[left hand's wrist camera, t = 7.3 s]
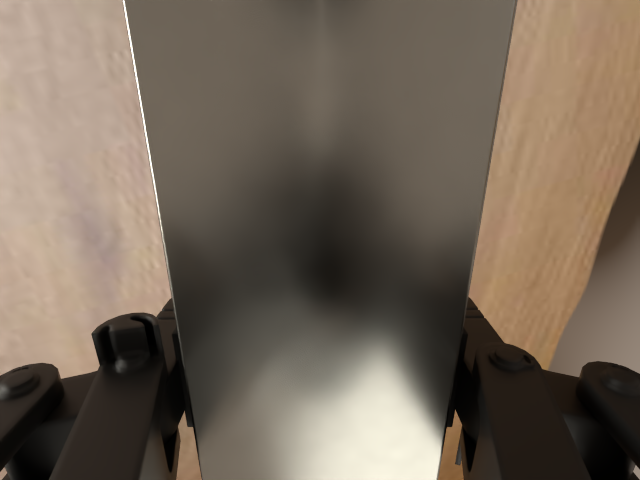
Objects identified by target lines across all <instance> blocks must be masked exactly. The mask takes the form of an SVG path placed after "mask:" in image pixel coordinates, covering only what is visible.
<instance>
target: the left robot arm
mask: <svg viewBox="0 0 640 480" xmlns="http://www.w3.org/2000/svg"><path fill="white" fill-rule="evenodd" d="M92 338H93V341H94V345H95V349H96V353H97V356H98V360H99V364H100V367H99V369H98V371H95V372H92V373H87V374H83V375H78V376H73V377H68V378H64V379H61V378H60V375H59V371H58V369H57V368H56V367H55V366H54V365H52V364H46V363H37V364H29V365H25V366H22V367H18V368H15V369H13V370H11V371H9V372H7V373H5V374H3V375H1V376H0V471H1V470H2V469H3V468H4V467H5V468H6V471H7V474H6V476H5V477H4V478H3V479H2V480H176V476H177V467H178V459H179V450H180V435H179V429H178V424H179V422H180V420H181V418H182V415H183V413H184V411H185V414H186V420H187V426H188V427H193V423H192V417H191V411H190V405H189V399H188V392H187V386H186V380H185V374H184V368H183V362H182V356H181V350H180V344H179V338H178V332H177V326H176V320H175V314H174V308H173V302H172V298H171V299H170V300H169V301H168V302H167V304H166V305H165V306H164V308H163V309H162V311H161V312H160V313H159V314H158V315H157V317H155V316H154V315H152V314H148V313H130V314H125V315H121V316H118V317H115V318H113V319H110V320H108V321H106V322H104V323H103V324H101V325H100V326H98V327H97V328H96V329H95V330H94V332H93V333H92ZM455 409H456V412H457V414H458V416H459V419H460V421H461V423H462V429H461V434H460V440H459V445H458V451H457V456H456V463H455V464H457V465H460V464H461V459H462V467H463V476H464V480H639V479H638V477H637V476H636V475H635V474H634V472H633V470H634V468H635V465H637V467H638V468H639V469H640V374H639V373H637V372H635V371H633V370H631V369H629V368H627V367H624V366H621V365H618V364H614V363H608V362H600V361H596V362H589V363H587V364H586V365H584V366H583V367H582V370H581V373H580V377H574V376H570V375H565V374H560V373H555V372H551V371H547V370H543V369H542V368H541V366H540V364H539V363H538V362H537V360H536V359H535V358H534V357H533V356H532V355H530V354H529V353H528V352H526V351H525V350H523V349H520V348H518V347H516V346H514V345H510V344H506V343H504V342H503V341H502V339H501V338H500V337H499V335H498V334H497V333H496V331H495V330H494V329H493V327H492V326H491V325H490V323H489V322H488V321H487V320H486V318H484V316H483V314H482V313H481V312H480V310H478V308H477V306H476V305H475V304H474V302H473V301H472V300H471V299H470V298H469V297H468V301H467V307H466V313H465V319H464V325H463V331H462V337H461V343H460V349H459V355H458V361H457V367H456V373H455V379H454V386H453V392H452V398H451V404H450V410H449V416H448V422H447V427H452V424H453V419H454V413H455Z"/></svg>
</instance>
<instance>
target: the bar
mask: <svg viewBox="0 0 640 480" xmlns="http://www.w3.org/2000/svg"><path fill="white" fill-rule="evenodd" d="M122 1H123V7H124V13H125V19H126V25H127V31H128V37H129V43H130V49H131V55H132V61H133V67H134V73H135V79H136V85H137V91H138V97H139V103H140V109H141V115H142V122H143V128H144V134H145V140H146V146H147V152H148V158H149V164H150V170H151V176H152V182H153V188H154V194H155V200H156V206H157V212H158V218H159V224H160V230H161V236H162V242H163V248H164V254H165V260H166V266H167V272H168V278H169V284H170V290H171V296H172V302H173V308H174V314H175V320H176V326H177V332H178V338H179V344H180V350H181V356H182V362H183V368H184V374H185V380H186V386H187V392H188V399H189V405H190V411H191V417H192V423H193V429H194V435H195V441H196V447H197V453H198V459H199V465H200V471H201V477H202V480H438V476H439V470H440V464H441V458H442V452H443V446H444V440H445V434H446V428H447V422H448V416H449V410H450V404H451V398H452V392H453V386H454V379H455V373H456V367H457V361H458V355H459V349H460V343H461V337H462V331H463V325H464V319H465V313H466V307H467V301H468V295H469V289H470V283H471V277H472V271H473V265H474V259H475V253H476V247H477V241H478V235H479V229H480V223H481V217H482V211H483V205H484V199H485V193H486V187H487V181H488V175H489V169H490V163H491V157H492V151H493V145H494V139H495V133H496V127H497V121H498V115H499V109H500V102H501V96H502V90H503V84H504V78H505V72H506V66H507V60H508V54H509V48H510V42H511V36H512V30H513V24H514V18H515V12H516V6H517V0H122Z"/></svg>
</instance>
